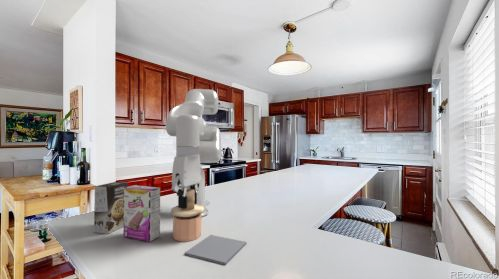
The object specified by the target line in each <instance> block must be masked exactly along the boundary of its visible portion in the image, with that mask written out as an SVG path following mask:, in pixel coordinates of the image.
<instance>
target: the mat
mask: <svg viewBox="0 0 499 279" xmlns="http://www.w3.org/2000/svg"><path fill="white" fill-rule="evenodd" d="M246 245H247V241H245V240H239V239H234V238H229V237H223V236H218V235H215V234H214V235H213V234H210V235H208V236H206V237H205V238H204V239H202V240H201V241H199V242H198V243H196V244H195V245H193V246H192V247H190V248H189V249H188V250H186V251H185V252H184V255H186V256H189V257H192V258H197V259H201V260H204V261H209V262H213V263H217V264H219V265H223V266H226V265H227V264H228V263H229V262H230V261H231V260H232V259H233V258H234V257H235V256H236V255H237V254H238V253H239V252H240V251H241V250H242V249H243V248H244V247H245V246H246Z"/></svg>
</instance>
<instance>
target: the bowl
mask: <svg viewBox="0 0 499 279" xmlns="http://www.w3.org/2000/svg"><path fill="white" fill-rule="evenodd" d="M202 218H203V217H202V214H199V215H196V216H190V217H177V216H174V215H172V237H173V240H174V241H177V242H183V243H185V242H187V243H188V242H192V241H194V240H198V239H199V238H200V237H201V236H202Z"/></svg>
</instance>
